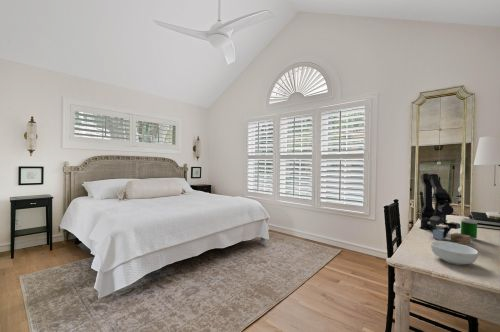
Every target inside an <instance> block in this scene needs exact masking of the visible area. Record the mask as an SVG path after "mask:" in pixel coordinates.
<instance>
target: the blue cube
mask: <svg viewBox="0 0 500 332" xmlns="http://www.w3.org/2000/svg"><path fill="white" fill-rule="evenodd" d="M433 238H434V239H437V240H440V241H444V240H446V239H447V237H445V238H444V230H441V229H434V230H433V232H432V239H433Z"/></svg>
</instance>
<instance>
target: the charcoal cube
mask: <svg viewBox="0 0 500 332" xmlns="http://www.w3.org/2000/svg"><path fill="white" fill-rule="evenodd" d="M444 227H445V226H444V225H442V226H441V225H436V229H441V230H444Z"/></svg>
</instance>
